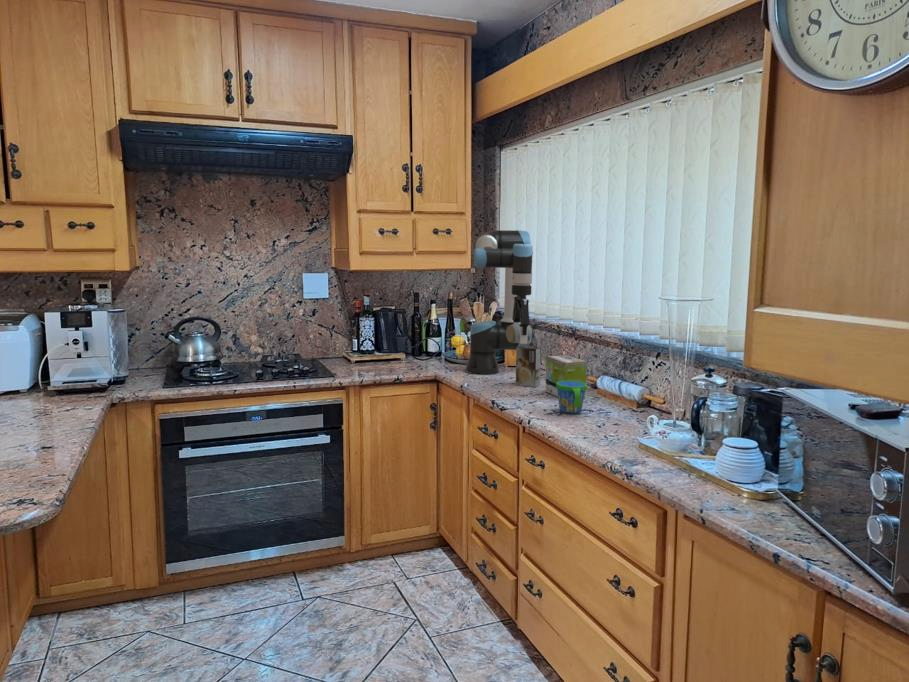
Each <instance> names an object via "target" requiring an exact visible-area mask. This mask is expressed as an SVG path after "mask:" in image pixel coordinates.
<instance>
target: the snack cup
mask: <svg viewBox="0 0 909 682" xmlns="http://www.w3.org/2000/svg"><path fill="white" fill-rule="evenodd" d="M556 387H557V390H558V397H557V399H558V406H559V407H558V408H559V411H560V412H562V413H563V414H569V415H575V414H576V413H577V414H580V413H582V409H583V404H584V399H585V398H584V395H585V396H586V394H585V391H586V390H587V389H588V385H587V382H586V383H583V382H579V381H559V382H557V383H556ZM586 392H587V391H586ZM577 414H576V415H577Z"/></svg>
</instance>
